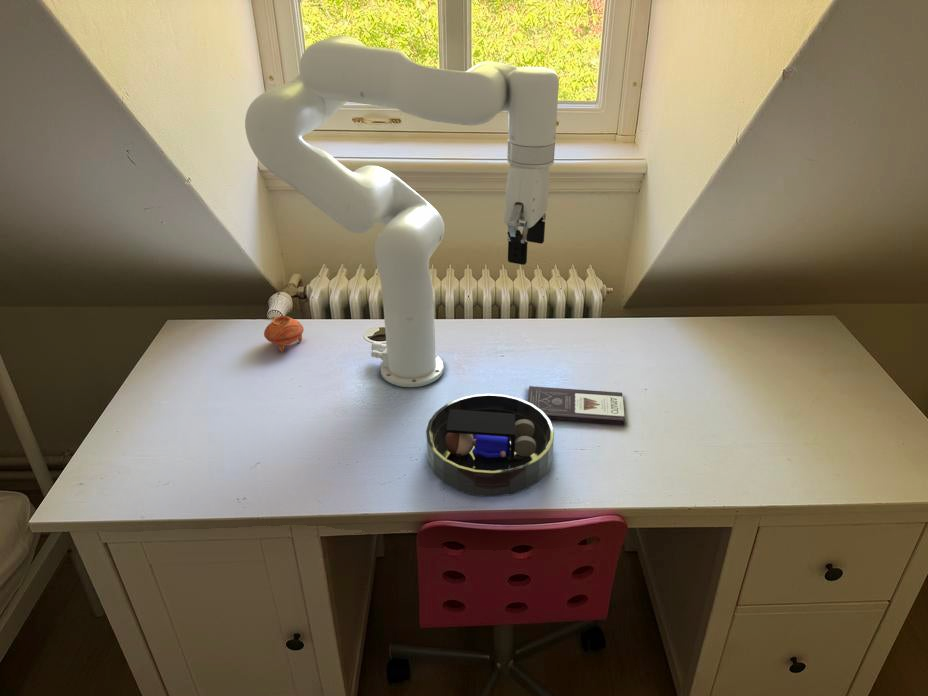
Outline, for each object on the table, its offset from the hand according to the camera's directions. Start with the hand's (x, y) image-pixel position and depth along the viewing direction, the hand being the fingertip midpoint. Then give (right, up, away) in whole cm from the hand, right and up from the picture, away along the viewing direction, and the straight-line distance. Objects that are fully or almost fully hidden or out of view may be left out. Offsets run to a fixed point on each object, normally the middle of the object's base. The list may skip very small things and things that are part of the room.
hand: (526, 252), depth 120 cm
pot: (-50, -15, +26) cm, 59 cm away
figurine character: (-6, -35, -2) cm, 36 cm away
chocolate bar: (+9, -27, +11) cm, 31 cm away
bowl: (-6, -35, -2) cm, 36 cm away
